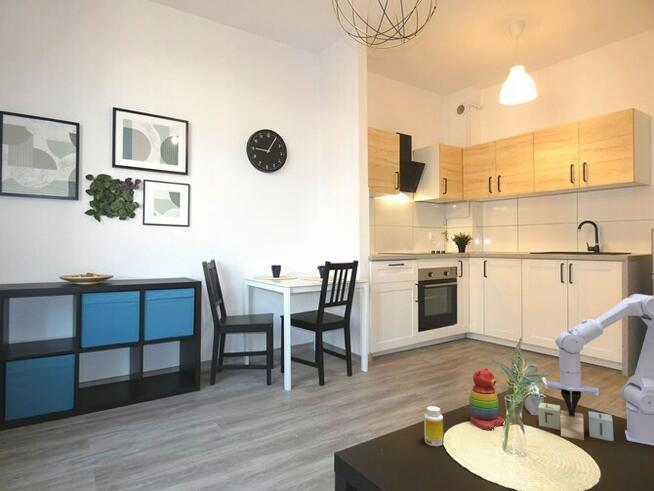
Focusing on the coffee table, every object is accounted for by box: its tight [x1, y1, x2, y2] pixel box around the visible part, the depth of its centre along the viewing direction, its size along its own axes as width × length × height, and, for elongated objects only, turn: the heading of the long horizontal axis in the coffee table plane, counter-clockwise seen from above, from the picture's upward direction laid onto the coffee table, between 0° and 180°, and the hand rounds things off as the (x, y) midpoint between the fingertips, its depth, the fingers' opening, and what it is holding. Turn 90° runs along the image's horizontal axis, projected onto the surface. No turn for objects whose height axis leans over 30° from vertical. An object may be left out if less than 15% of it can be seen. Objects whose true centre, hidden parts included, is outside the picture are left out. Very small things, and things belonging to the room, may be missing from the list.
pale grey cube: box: [588, 410, 615, 442], centre depth 122 cm, size 6×6×6 cm
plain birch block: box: [560, 410, 585, 441], centre depth 123 cm, size 6×6×6 cm
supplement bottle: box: [423, 405, 444, 447], centre depth 118 cm, size 6×6×10 cm
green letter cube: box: [538, 402, 561, 431], centre depth 131 cm, size 6×6×6 cm
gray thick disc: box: [524, 389, 545, 417], centre depth 142 cm, size 8×4×9 cm, turn 168°
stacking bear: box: [468, 367, 506, 431], centre depth 133 cm, size 11×10×18 cm
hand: (571, 414), depth 123 cm, fingers closed
